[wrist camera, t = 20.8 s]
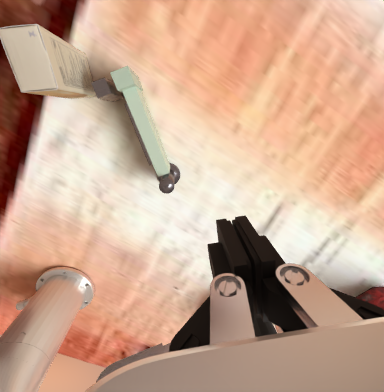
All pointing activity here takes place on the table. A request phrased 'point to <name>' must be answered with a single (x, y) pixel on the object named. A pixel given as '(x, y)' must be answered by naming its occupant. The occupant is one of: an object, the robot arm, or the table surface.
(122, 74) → the gate
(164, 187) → the dark grey rounded knob
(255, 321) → the drinking cup
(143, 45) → the table surface
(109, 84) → the latch post
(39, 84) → the skincare box
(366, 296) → the lantern
